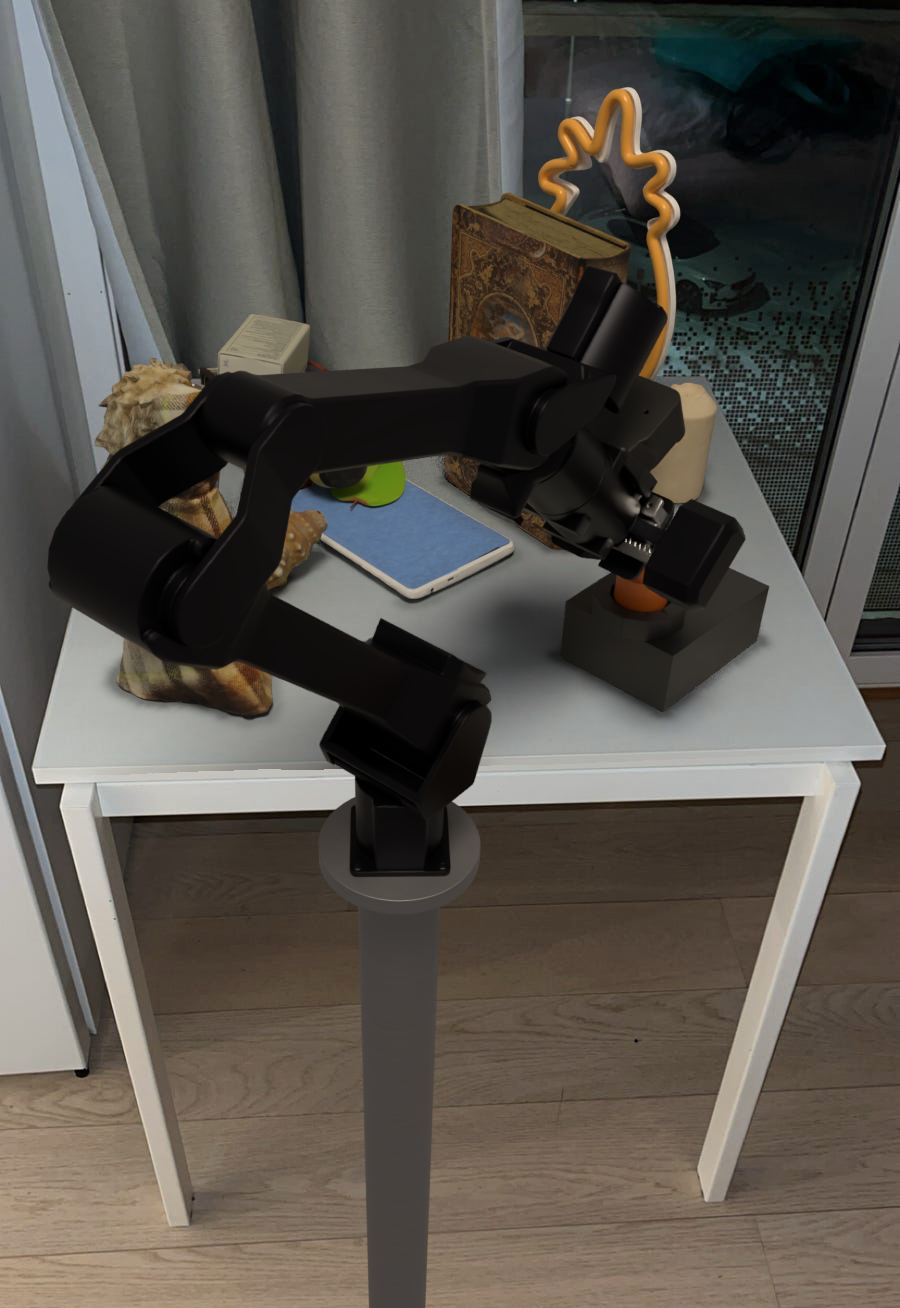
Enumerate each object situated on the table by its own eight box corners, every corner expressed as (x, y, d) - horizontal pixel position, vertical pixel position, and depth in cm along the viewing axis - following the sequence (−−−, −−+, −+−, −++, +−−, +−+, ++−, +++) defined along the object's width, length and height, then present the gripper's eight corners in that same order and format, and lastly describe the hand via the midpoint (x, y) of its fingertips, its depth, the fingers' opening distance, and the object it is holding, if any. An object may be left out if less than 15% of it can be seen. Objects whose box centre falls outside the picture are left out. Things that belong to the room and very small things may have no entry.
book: (605, 535, 115) (642, 248, 98) (560, 554, 112) (589, 263, 95) (488, 462, 124) (503, 189, 107) (443, 479, 122) (451, 201, 105)
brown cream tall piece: (84, 737, 91) (112, 397, 76) (66, 633, 100) (88, 314, 86) (278, 738, 96) (339, 421, 81) (243, 640, 106) (292, 340, 91)
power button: (646, 620, 94) (651, 590, 92) (602, 598, 96) (606, 569, 94) (677, 598, 96) (683, 569, 94) (634, 577, 98) (639, 548, 96)
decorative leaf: (423, 495, 115) (423, 504, 116) (396, 444, 121) (396, 453, 121) (339, 508, 113) (340, 517, 114) (316, 455, 119) (316, 464, 120)
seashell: (249, 577, 114) (299, 481, 109) (296, 634, 110) (349, 537, 105) (163, 566, 107) (211, 463, 102) (209, 626, 103) (262, 522, 98)
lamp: (490, 426, 130) (509, 74, 108) (551, 401, 134) (582, 59, 113) (612, 490, 121) (660, 121, 99) (674, 462, 125) (732, 103, 104)
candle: (683, 510, 119) (700, 408, 112) (632, 491, 121) (646, 390, 114) (711, 487, 122) (730, 387, 115) (661, 469, 124) (677, 369, 118)
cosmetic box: (248, 355, 129) (214, 398, 120) (250, 310, 126) (215, 351, 117) (310, 366, 129) (280, 411, 119) (313, 322, 126) (283, 364, 117)
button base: (655, 717, 96) (669, 641, 91) (551, 661, 101) (559, 585, 96) (757, 640, 104) (774, 566, 99) (656, 591, 108) (668, 518, 104)
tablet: (518, 553, 112) (520, 540, 111) (411, 606, 105) (411, 592, 104) (374, 470, 122) (374, 457, 121) (268, 513, 116) (267, 500, 115)
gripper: (758, 404, 74) (815, 506, 88) (513, 311, 83) (599, 416, 97) (659, 573, 75) (731, 648, 89) (428, 463, 84) (525, 546, 98)
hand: (644, 557), depth 93 cm, fingers closed
